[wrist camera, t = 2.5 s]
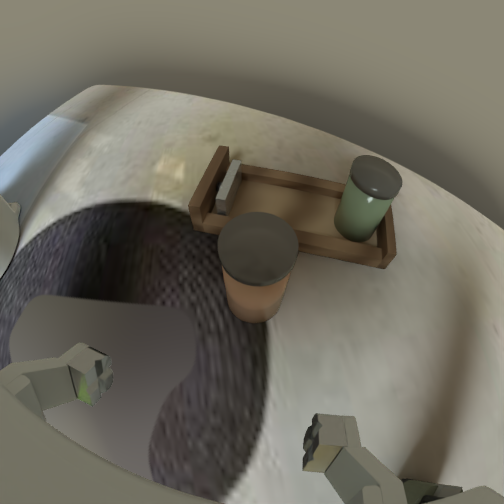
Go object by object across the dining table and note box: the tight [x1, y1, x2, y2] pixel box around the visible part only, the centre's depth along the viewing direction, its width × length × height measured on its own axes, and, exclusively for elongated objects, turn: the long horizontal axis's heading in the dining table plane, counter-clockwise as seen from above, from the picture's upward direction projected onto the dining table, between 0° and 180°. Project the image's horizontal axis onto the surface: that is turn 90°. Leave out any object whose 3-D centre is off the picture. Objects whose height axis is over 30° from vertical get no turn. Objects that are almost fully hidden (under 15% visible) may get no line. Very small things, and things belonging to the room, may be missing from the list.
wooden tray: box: [188, 146, 397, 269], centre depth 29 cm, size 21×10×4 cm, turn 77°
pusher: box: [216, 160, 242, 216], centre depth 30 cm, size 2×6×3 cm, turn 167°
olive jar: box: [334, 155, 402, 242], centre depth 26 cm, size 5×5×8 cm
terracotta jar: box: [218, 212, 299, 323], centre depth 21 cm, size 5×5×9 cm
